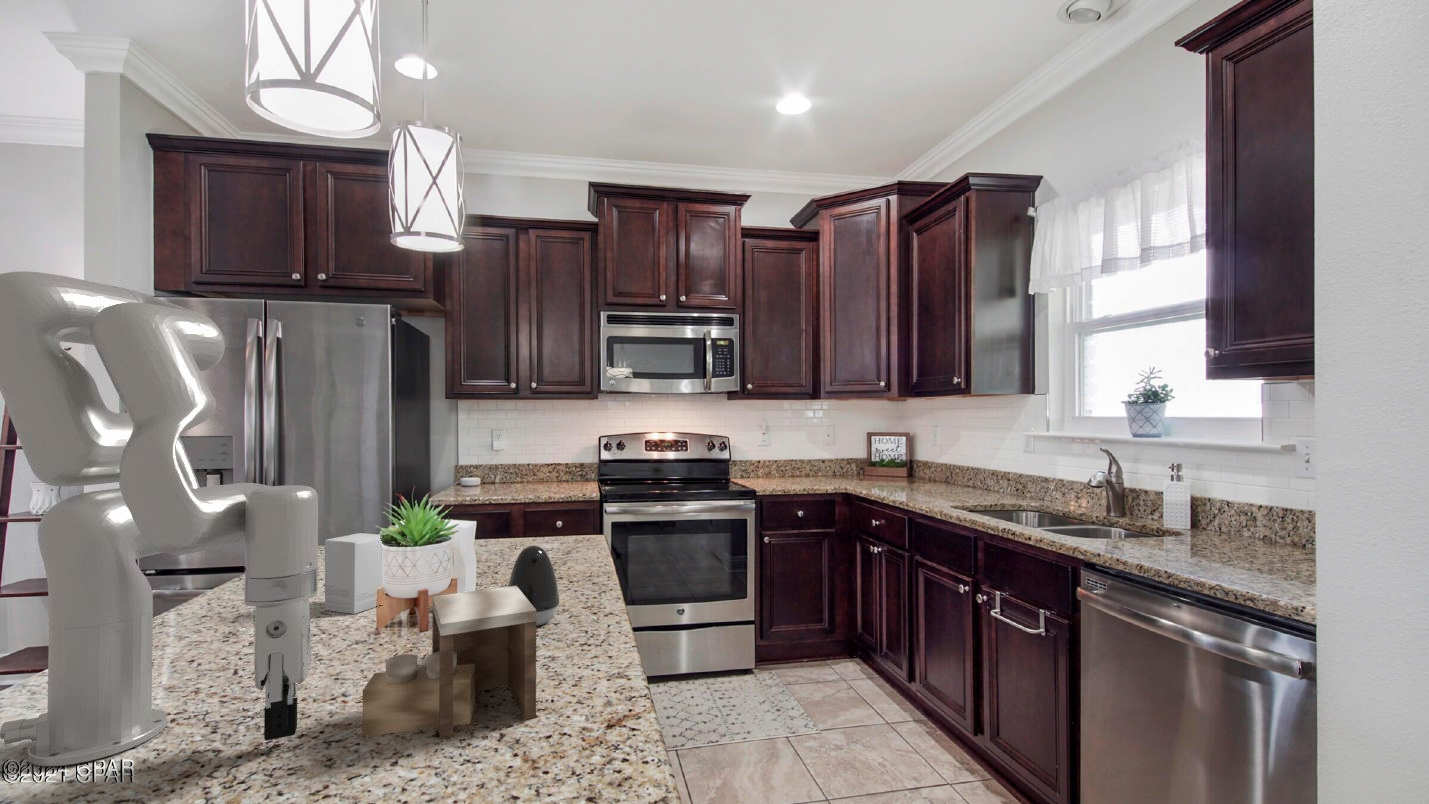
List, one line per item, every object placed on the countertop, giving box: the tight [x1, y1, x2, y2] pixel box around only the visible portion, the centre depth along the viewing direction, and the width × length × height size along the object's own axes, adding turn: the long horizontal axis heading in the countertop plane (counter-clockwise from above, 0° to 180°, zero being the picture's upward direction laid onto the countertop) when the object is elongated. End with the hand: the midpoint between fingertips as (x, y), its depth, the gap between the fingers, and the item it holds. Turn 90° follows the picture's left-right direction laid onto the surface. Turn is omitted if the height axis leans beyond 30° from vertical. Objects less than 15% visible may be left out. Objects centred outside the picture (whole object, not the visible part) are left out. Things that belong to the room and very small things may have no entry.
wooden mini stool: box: [431, 586, 537, 740], centre depth 89 cm, size 12×14×14 cm
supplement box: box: [324, 532, 382, 615], centre depth 136 cm, size 9×9×15 cm
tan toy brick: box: [361, 651, 476, 737], centre depth 85 cm, size 13×6×8 cm, turn 104°
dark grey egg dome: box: [507, 545, 560, 627], centre depth 125 cm, size 10×10×15 cm
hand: (280, 734), depth 78 cm, fingers closed
